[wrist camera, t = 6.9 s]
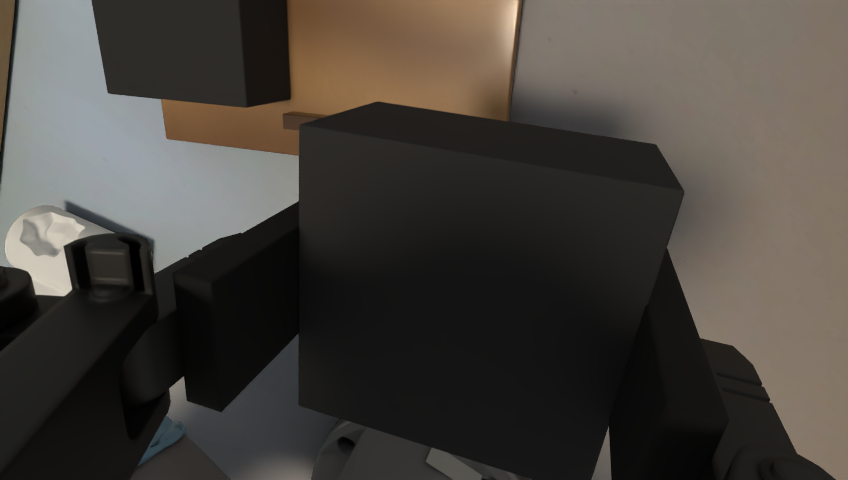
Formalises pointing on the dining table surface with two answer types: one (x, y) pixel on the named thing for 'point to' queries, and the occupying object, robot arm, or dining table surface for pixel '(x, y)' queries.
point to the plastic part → (46, 246)
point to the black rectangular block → (475, 280)
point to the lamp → (5, 51)
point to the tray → (371, 68)
